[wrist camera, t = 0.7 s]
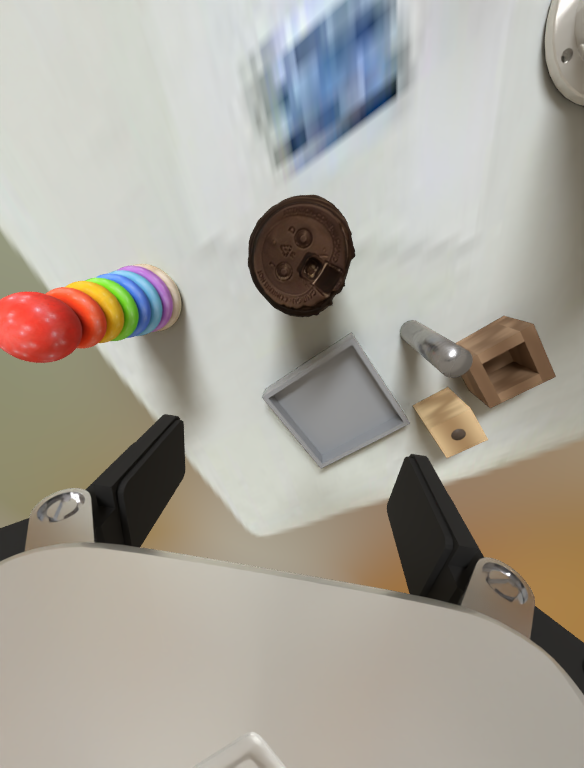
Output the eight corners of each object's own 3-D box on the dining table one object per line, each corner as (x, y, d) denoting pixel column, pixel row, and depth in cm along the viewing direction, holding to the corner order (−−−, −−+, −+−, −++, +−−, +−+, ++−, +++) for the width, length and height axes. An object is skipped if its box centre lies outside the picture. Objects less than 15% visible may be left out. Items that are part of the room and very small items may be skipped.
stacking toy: (124, 322, 37) (-45, 374, 19) (120, 257, 33) (-86, 251, 16) (183, 335, 37) (65, 397, 19) (185, 271, 33) (46, 279, 16)
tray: (351, 332, 35) (354, 337, 32) (404, 413, 38) (410, 423, 36) (265, 389, 39) (261, 397, 36) (320, 457, 43) (321, 468, 40)
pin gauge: (415, 315, 33) (464, 341, 22) (425, 333, 34) (477, 366, 23) (396, 328, 34) (434, 359, 23) (406, 345, 35) (447, 382, 24)
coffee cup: (350, 288, 33) (369, 302, 21) (284, 310, 34) (266, 334, 22) (331, 206, 29) (340, 168, 18) (259, 234, 31) (223, 216, 19)
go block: (503, 315, 33) (533, 323, 28) (524, 361, 34) (555, 376, 30) (445, 348, 35) (465, 361, 30) (468, 390, 37) (490, 408, 32)
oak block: (447, 386, 36) (471, 408, 31) (463, 414, 38) (488, 440, 32) (412, 405, 38) (428, 429, 32) (428, 431, 39) (447, 458, 34)
